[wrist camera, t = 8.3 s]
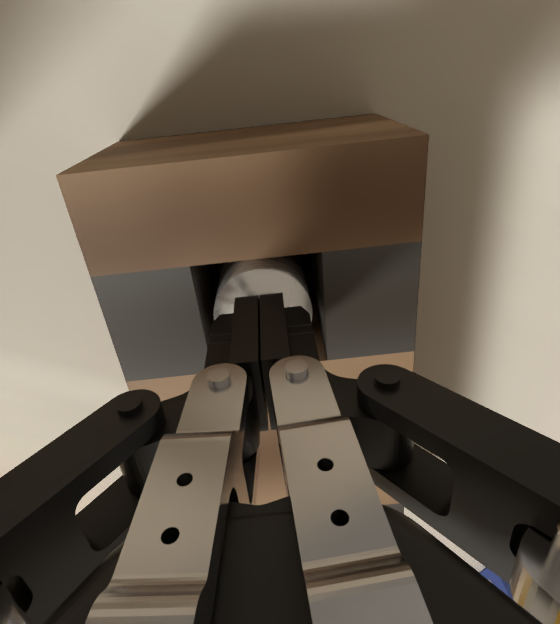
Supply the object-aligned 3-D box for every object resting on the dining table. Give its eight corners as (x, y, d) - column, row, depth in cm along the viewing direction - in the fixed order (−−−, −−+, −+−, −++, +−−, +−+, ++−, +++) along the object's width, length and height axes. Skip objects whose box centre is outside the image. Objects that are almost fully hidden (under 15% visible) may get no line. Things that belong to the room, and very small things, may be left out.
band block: (117, 141, 17) (55, 175, 12) (375, 113, 17) (428, 134, 12) (214, 508, 28) (204, 611, 22) (371, 492, 28) (398, 591, 22)
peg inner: (219, 218, 18) (205, 276, 13) (294, 210, 18) (309, 264, 13) (230, 286, 20) (222, 360, 15) (300, 279, 20) (315, 351, 15)
